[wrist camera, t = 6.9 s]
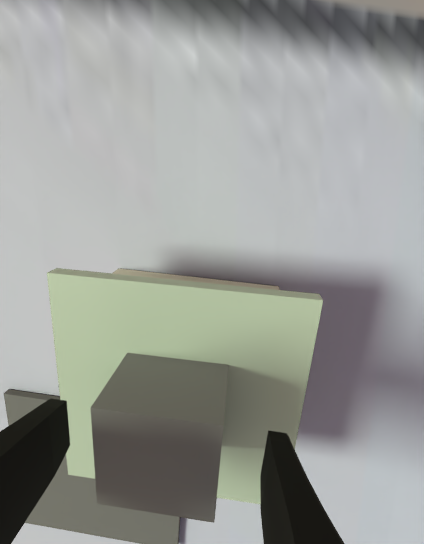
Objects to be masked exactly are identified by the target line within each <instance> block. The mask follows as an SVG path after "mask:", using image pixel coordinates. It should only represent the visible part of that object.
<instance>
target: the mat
mask: <svg viewBox="0 0 424 544" xmlns="http://www.w3.org/2000/svg"><path fill="white" fill-rule="evenodd" d="M4 398H5V405H6V411H7V418H8V424H9V426H10V425H11V424H13V423H14V422H16V421H17V420H19V419H20V418H22V417H23V416H25V415H26V414H28V413H29V412H31V411H32V410H34V409H35V408H37V407H38V406H40V405H41V404H43V403H44V402H46V401H47V400H49V399H50V398H52V399H58V400H60V397H58V396H51V395H44V394H38V393H31V392H24V391H17V390H10V389H8V390H7V391H6V392H5V393H4ZM25 523H29V524H35V525H41V526H46V527H52V528H57V529H63V530H68V531H74V532H79V533H85V534H90V535H96V536H102V537H107V538H113V539H118V540H124V541H129V542H135V543H140V544H178V541H179V526H180V517H176V516H170V515H164V514H158V513H151V512H145V511H139V510H133V509H127V508H120V507H114V506H108V505H102V504H97V496H96V482H95V479H93V478H87V477H80V476H74V475H68V468H67V458H66V455H65V457H64V459H63V461H62V463H61V465H60V467H59V469H58V470H57V472H56V474H55V476H54V478H53V479H52V481H51V483H50V484H49V486H48V487H47V489H46V490H45V492H44V493H43V495H42V497H41V498H40V500H39V501H38V503H37V504H36V506H35V507H34V509H33V510H32V512H31V514H30V515H29V517H28V518H27V520H26V521H25Z"/></svg>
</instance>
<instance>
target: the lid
mask: <svg viewBox="0 0 424 544" xmlns="http://www.w3.org/2000/svg"><path fill="white" fill-rule="evenodd" d="M47 277H48V287H49V296H50V306H51V315H52V325H53V334H54V344H55V353H56V363H57V373H58V382H59V392H60V400H65V401H67V411H68V423H69V436H70V447H69V449H68V451H67V453H66V458H67V468H68V475H74V476H80V477H87V478H93V479H95V482H96V496H97V504H102V505H108V506H114V507H120V508H127V509H133V510H139V511H145V512H151V513H158V514H164V515H170V516H176V517H182V518H189V519H195V520H201V521H207V522H214V519H215V509H216V499H217V498H223V499H229V500H236V501H242V502H249V503H255V504H261V493H260V475H261V469H262V463H263V458H264V452H265V446H266V440H267V435H268V430H269V431H276V432H283V433H287V435H288V436H289V438H290V440H291V443H292V445H293V447H294V449H295V444H296V439H297V434H298V428H299V423H300V418H301V413H302V408H303V403H304V397H305V392H306V387H307V382H308V377H309V371H310V366H311V361H312V356H313V351H314V346H315V340H316V335H317V330H318V325H319V320H320V314H321V309H322V304H323V299H322V298H321V296H320V294H314V293H304V292H294V291H284V290H274V289H263V288H253V287H243V286H233V285H223V284H213V283H202V282H192V281H182V280H172V279H162V278H152V277H141V276H131V275H121V274H111V273H101V272H91V271H80V270H70V269H60V268H56V269H54V270H52V271H50V272H48V273H47Z"/></svg>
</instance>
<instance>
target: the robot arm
mask: <svg viewBox="0 0 424 544" xmlns="http://www.w3.org/2000/svg"><path fill="white" fill-rule="evenodd" d="M69 447H70V436H69V423H68V411H67V401H65V400H58V399H52V398H50V399H49V400H47V401H46V402H44V403H43V404H41V405H40V406H38V407H37V408H35V409H34V410H32V411H31V412H29V413H28V414H26V415H25V416H23V417H22V418H20V419H19V420H17V421H16V422H14V423H13V424H11V425H10V426H8V427H7V428H5V429H4V430H2V431H1V432H0V544H11V543H12V541H13V540H14V538H15V537H16V535H17V534H18V532H19V530H20V529H21V527H22V526H23V524H24V523H25V521H26V520H27V518H28V517H29V515H30V514H31V512H32V510H33V509H34V507H35V506H36V504H37V503H38V501H39V500H40V498H41V497H42V495H43V493H44V492H45V490H46V489H47V487H48V486H49V484H50V483H51V481H52V479H53V478H54V476H55V474H56V472H57V470H58V469H59V467H60V465H61V463H62V461H63V459H64V457H65V455H66V453H67V451H68V449H69ZM260 493H261V518H262V529H263V539H264V544H344V542H343V541H342V539H341V537H340V536H339V534H338V532H337V531H336V529H335V527H334V525H333V524H332V522H331V520H330V519H329V517H328V515H327V513H326V512H325V510H324V508H323V506H322V504H321V503H320V501H319V499H318V497H317V495H316V493H315V491H314V489H313V487H312V485H311V484H310V482H309V480H308V478H307V476H306V474H305V472H304V469H303V467H302V465H301V463H300V461H299V459H298V457H297V454H296V452H295V450H294V447H293V445H292V443H291V440H290V438H289V436H288V435H287V433H283V432H276V431H269V430H268V435H267V440H266V446H265V452H264V458H263V463H262V469H261V475H260Z"/></svg>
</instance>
